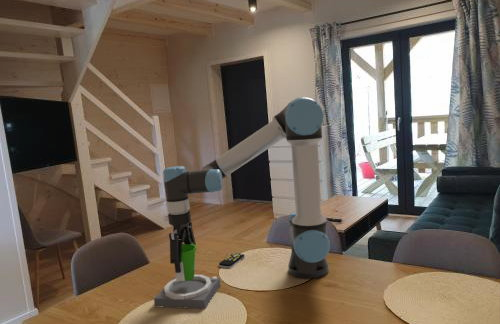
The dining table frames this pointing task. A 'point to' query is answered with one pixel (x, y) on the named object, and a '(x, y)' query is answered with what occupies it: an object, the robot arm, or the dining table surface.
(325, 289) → the dining table surface
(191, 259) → the cup
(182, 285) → the square coaster tray
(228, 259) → the remote control
